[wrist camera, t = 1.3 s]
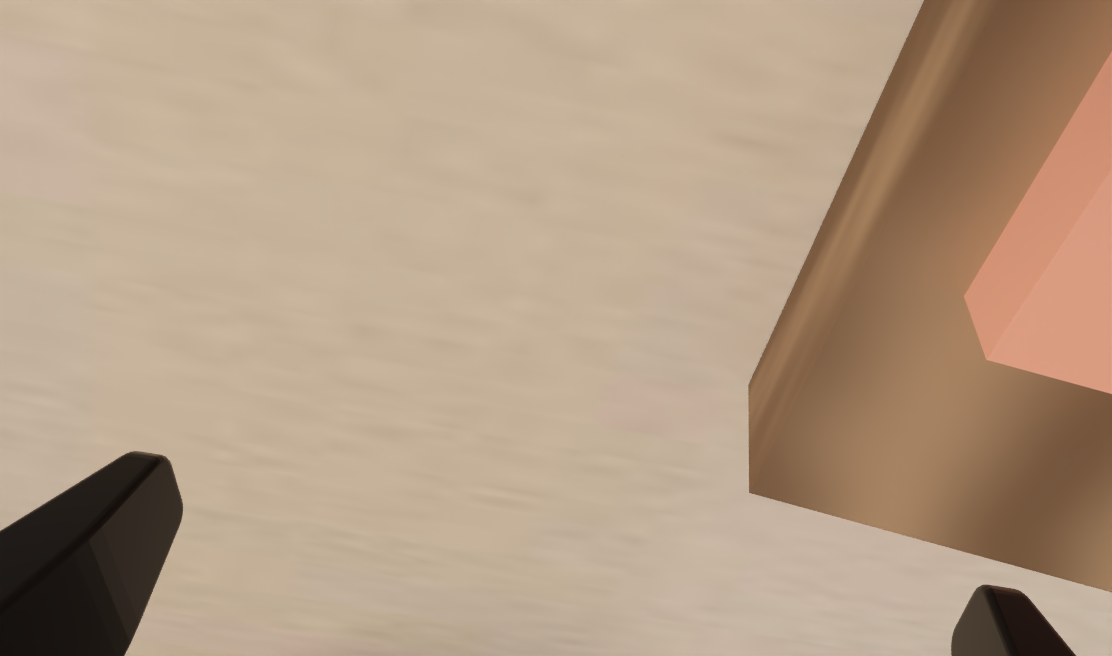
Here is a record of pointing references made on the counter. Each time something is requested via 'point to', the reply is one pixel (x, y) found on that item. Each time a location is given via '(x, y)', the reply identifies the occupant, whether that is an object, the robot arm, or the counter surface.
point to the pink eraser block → (1057, 259)
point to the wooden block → (942, 310)
